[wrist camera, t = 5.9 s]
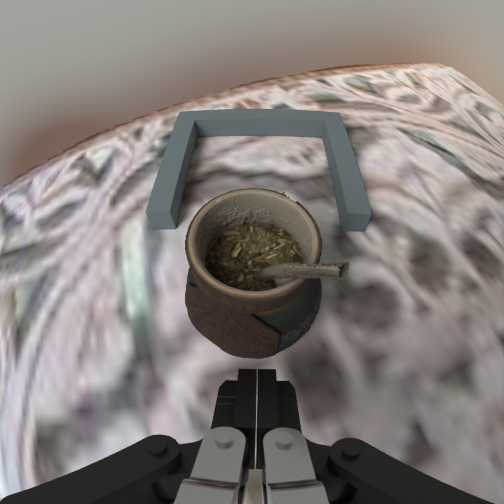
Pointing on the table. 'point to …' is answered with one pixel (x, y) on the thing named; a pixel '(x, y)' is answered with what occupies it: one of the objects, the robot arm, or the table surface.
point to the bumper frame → (259, 124)
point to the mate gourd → (254, 272)
